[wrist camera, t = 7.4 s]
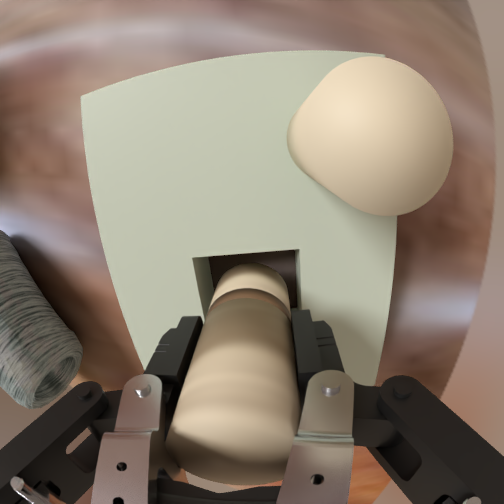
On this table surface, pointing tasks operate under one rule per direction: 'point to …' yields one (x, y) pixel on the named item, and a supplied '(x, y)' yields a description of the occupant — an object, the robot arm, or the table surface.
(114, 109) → the seat board
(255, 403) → the peg
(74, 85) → the table surface
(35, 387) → the spool
